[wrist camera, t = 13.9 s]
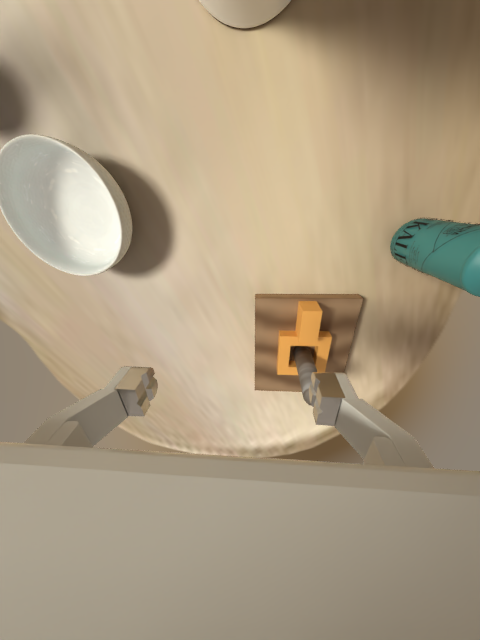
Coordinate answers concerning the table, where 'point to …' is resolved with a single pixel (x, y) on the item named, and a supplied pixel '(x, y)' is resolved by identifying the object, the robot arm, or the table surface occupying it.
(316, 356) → the loop fitting
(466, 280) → the beverage bottle
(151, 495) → the robot arm
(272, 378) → the keeper board
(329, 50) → the table surface
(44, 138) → the cereal bowl
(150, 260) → the table surface
